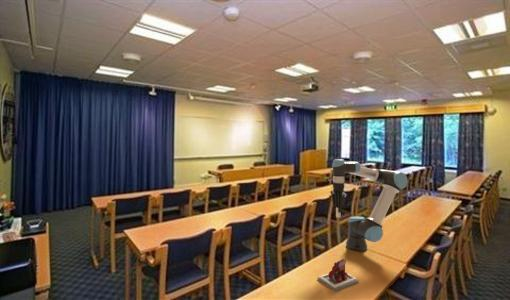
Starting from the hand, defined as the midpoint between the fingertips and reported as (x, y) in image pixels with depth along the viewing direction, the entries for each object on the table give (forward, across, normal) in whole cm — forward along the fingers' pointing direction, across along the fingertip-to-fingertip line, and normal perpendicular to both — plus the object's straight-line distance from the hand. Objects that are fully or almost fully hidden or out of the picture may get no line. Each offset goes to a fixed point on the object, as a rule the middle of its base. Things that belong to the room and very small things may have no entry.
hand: (338, 216), depth 182 cm
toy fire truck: (+28, +20, -21) cm, 41 cm away
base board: (+29, +20, -21) cm, 41 cm away
